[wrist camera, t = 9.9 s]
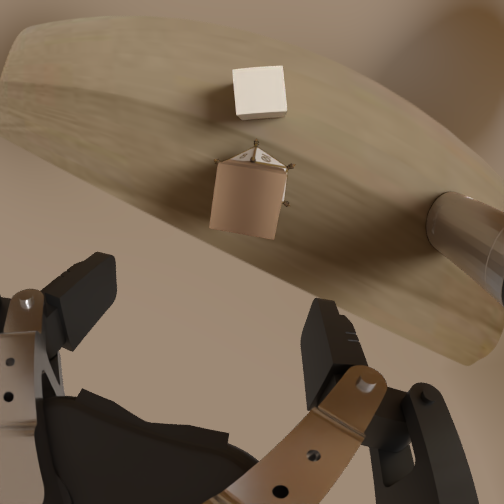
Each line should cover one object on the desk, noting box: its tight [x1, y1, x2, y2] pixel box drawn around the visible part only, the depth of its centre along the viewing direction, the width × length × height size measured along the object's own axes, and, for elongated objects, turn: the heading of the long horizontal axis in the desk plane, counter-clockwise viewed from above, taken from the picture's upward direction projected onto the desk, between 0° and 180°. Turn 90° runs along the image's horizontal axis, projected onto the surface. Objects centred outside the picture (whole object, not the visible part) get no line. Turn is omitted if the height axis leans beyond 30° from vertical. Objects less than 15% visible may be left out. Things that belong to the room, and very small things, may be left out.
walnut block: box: [209, 159, 287, 240], centre depth 23 cm, size 5×5×6 cm
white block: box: [232, 66, 287, 120], centre depth 26 cm, size 5×5×6 cm
